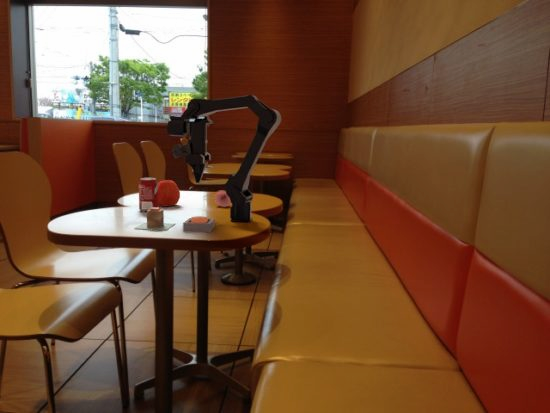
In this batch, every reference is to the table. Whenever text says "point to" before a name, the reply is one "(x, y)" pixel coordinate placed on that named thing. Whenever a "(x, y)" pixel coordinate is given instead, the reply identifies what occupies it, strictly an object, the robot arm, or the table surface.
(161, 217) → the block
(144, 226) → the board
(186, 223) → the button box
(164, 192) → the apple
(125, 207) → the table surface
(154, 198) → the soda can
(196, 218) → the button
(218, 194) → the flower
